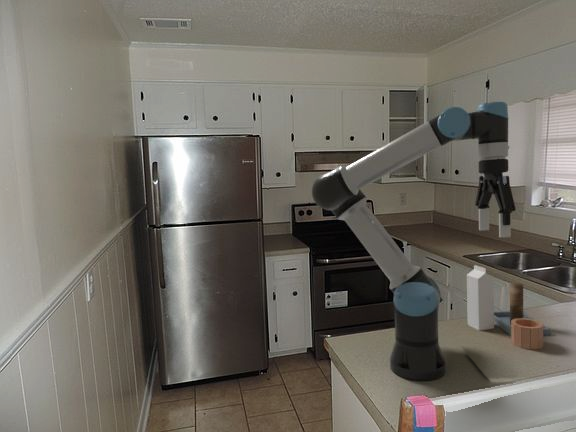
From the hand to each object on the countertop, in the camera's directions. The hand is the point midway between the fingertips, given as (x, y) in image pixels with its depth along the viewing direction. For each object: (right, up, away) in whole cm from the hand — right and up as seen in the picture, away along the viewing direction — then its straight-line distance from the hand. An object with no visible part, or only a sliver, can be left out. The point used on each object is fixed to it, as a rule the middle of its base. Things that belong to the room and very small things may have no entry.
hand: (493, 233), depth 116 cm
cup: (+15, -35, +9) cm, 39 cm away
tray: (+20, -33, +23) cm, 45 cm away
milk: (+8, -34, +24) cm, 43 cm away
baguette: (+20, -32, +23) cm, 44 cm away
